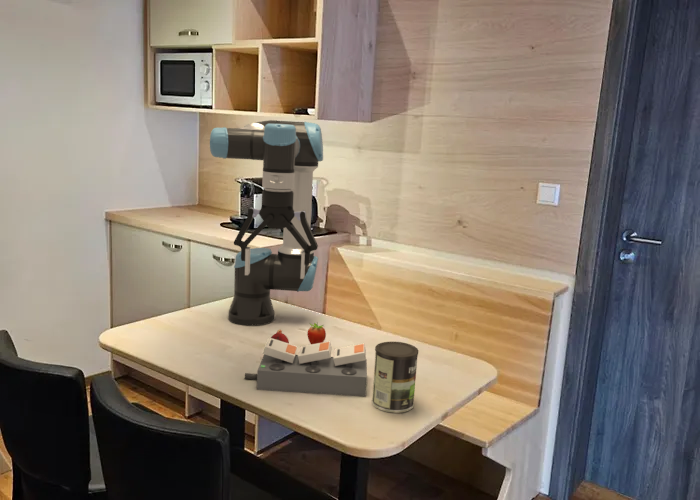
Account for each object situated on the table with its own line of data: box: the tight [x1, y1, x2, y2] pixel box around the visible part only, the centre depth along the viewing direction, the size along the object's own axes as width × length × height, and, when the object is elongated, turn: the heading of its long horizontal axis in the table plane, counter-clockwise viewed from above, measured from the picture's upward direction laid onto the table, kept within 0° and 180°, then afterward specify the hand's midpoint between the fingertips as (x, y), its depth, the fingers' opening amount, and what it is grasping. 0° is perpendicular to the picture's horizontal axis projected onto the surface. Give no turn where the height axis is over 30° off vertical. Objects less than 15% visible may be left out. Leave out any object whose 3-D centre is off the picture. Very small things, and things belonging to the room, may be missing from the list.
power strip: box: [244, 354, 368, 397], centre depth 162 cm, size 12×31×6 cm, turn 89°
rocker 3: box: [333, 342, 367, 366], centre depth 163 cm, size 7×8×2 cm
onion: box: [270, 329, 290, 344], centre depth 177 cm, size 6×6×8 cm
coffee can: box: [371, 341, 419, 414], centre depth 152 cm, size 10×10×14 cm
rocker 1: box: [262, 336, 299, 363], centre depth 163 cm, size 7×8×2 cm
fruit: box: [307, 322, 327, 345], centre depth 186 cm, size 5×5×8 cm
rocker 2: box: [297, 340, 333, 364], centre depth 163 cm, size 7×8×2 cm
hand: (274, 275), depth 155 cm, fingers open, 13 cm apart
